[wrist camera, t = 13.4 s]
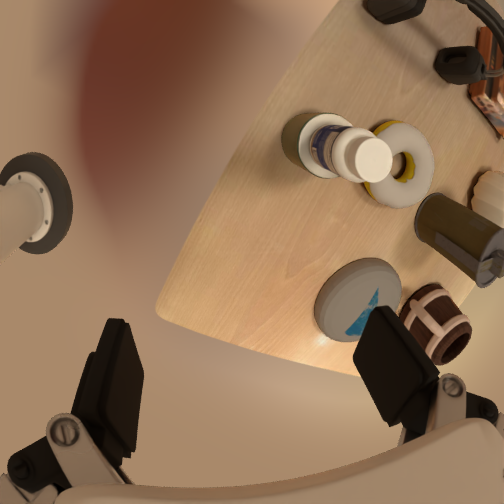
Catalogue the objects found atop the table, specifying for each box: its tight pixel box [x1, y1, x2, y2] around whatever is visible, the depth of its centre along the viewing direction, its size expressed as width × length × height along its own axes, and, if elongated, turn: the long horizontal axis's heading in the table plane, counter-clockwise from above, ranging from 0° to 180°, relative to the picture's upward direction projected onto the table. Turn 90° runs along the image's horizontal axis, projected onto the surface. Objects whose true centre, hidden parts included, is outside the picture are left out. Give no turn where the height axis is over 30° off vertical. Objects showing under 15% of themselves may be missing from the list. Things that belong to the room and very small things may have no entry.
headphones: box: [367, 0, 504, 85], centre depth 19 cm, size 22×6×20 cm, turn 65°
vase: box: [471, 171, 504, 228], centre depth 38 cm, size 14×14×13 cm
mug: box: [400, 285, 472, 365], centre depth 48 cm, size 20×15×15 cm
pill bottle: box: [310, 125, 392, 183], centre depth 25 cm, size 5×5×10 cm
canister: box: [415, 193, 504, 288], centre depth 36 cm, size 11×10×20 cm
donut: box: [364, 121, 434, 209], centre depth 36 cm, size 14×14×5 cm
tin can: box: [282, 113, 353, 179], centre depth 32 cm, size 8×8×8 cm
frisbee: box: [314, 258, 402, 342], centre depth 48 cm, size 18×18×5 cm
